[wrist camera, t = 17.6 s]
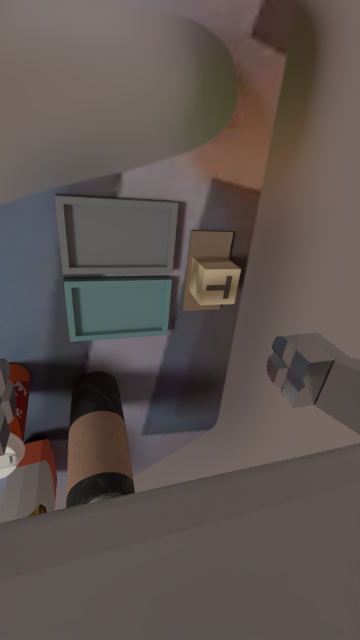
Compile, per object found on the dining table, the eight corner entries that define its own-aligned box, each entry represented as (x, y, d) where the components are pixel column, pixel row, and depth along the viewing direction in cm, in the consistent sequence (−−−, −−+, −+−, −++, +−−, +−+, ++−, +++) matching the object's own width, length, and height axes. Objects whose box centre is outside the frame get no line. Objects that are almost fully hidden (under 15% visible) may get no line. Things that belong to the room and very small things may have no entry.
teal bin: (64, 277, 38) (63, 281, 37) (169, 275, 42) (171, 279, 41) (70, 336, 42) (70, 341, 41) (165, 329, 46) (167, 334, 45)
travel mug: (86, 363, 45) (88, 488, 29) (128, 379, 49) (151, 497, 33) (61, 398, 47) (50, 533, 31) (104, 410, 51) (114, 536, 35)
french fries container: (47, 427, 50) (31, 548, 35) (60, 466, 55) (51, 585, 40) (17, 433, 49) (-12, 561, 34) (33, 472, 54) (15, 597, 39)
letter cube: (192, 256, 41) (205, 269, 37) (225, 257, 42) (241, 269, 38) (188, 289, 43) (200, 305, 39) (220, 289, 45) (234, 304, 40)
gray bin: (55, 193, 33) (54, 195, 32) (175, 201, 37) (178, 203, 36) (63, 270, 37) (62, 274, 36) (169, 269, 41) (172, 272, 40)
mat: (191, 230, 39) (192, 231, 39) (231, 231, 41) (233, 232, 41) (182, 309, 45) (183, 311, 45) (218, 307, 47) (219, 309, 47)
